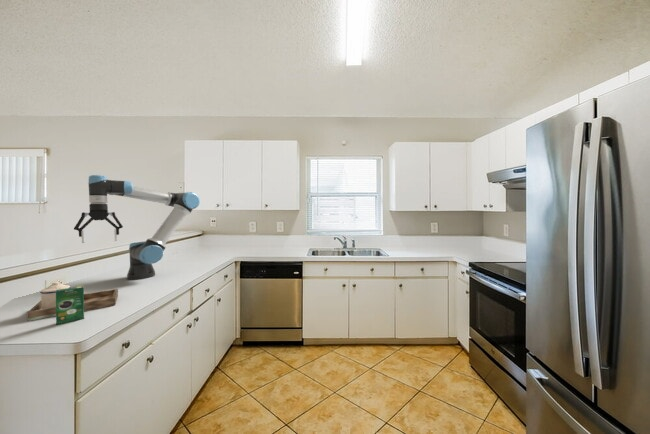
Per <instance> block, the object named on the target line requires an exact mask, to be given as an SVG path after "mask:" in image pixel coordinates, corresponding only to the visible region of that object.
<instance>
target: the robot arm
mask: <svg viewBox="0 0 650 434" xmlns="http://www.w3.org/2000/svg"><path fill="white" fill-rule="evenodd" d="M87 184H88V203H89V212H81V215H80V218H79V220H78V221H77V223H76V224H75V225H74V227H73V230H74V231H77V232H78V237H79V238H81V243H82V244H84V243H85V242H86V241H85V230H84V229H85V228H86V227H87V226H88V225H89V224H91V223H92V222H93V221H104V220H105V221H106V222H107V223H109V224H110V225H111V226H112V227H113V228H115V229H114V231H113V232H114V242H117V240H118V239H117V238H118V235H119V236H120V229H122V228H123V227H124V226H123V225H122V223H121V221H120V220H119V219H118V216H116V213H115V211H113V212H109V210H108V209H109V207H108V195H109V196H119V197H125V198H131V199H136V200H141V201H148V202H151V203H152V202H153V203H157V204H158V203H159V204H164V205H165V206H168V207H173V209H172V210H171V211H170V213H169V214H168V215H167V217H166V218H165V220H164V221H163V222H162V223H161V225H160V226H159V228H158V229H157V230H156V232H155V233H154V234H153V236H152V237H150V238H147V239H146V240H145V241H139V242H131V243H130V244H129V246H128V247H129V248H128V250H129V269H128V271H127V274H126V278H127V280H142V279H143V280H144V279H148V278H152V277H154V276H155V275H156V271H155V268H154V266H153V264H156V263H158V262H160V261H161V260H162V258H163V257H164V251H165V249H167V247H166V243H167V242H168V241H169V240H170V238H171V237H172V235H174V232H175V231H176V229H178V227H179V226H180V224H181V223H182V221H183V220H184V218H186V216H187V215H190V214H191V213H192V211H193V210H194V209H197V208H198V207H199V206H200V203H201V201H200V196H199V195H198V194H197V193H195V192H192V191H186V192H177V193H175V192H170V191H169V192H163V191H157V190H154V189H153V190H151V189H148V188H143V187H137V186H134V184H133V182H132V181H129V180H116V179H115V180H112V179H108V178H107V176H106V175H101V174H91V175H89V176H88V183H87ZM109 215H110V216H111V217H112V219H114V220H115V222H116V224H115V223H114V222H113V221H112V220H111V219H109V217H108V216H109ZM87 216H89V217H90V218H89V219H88V220H87V221H86V222H85V223H84V224H83V225H81V224H82V223H83V221H84V220H85V217H87ZM80 226H81V227H80Z"/></svg>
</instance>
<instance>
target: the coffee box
mask: <svg viewBox="0 0 650 434" xmlns="http://www.w3.org/2000/svg"><path fill="white" fill-rule="evenodd" d="M84 294H85V288H84V286H83V285H81V286H74V287H73V286H72V287H71V288H67V289H60V290H56V316H55V321H56V322H55V323H56V325H60V324H61V325H62V324H65V323H69V322H74V321H79V320H82V319H85V311H84Z"/></svg>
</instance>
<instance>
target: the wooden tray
mask: <svg viewBox="0 0 650 434" xmlns="http://www.w3.org/2000/svg"><path fill="white" fill-rule="evenodd" d="M118 290H119V289H118V288H115V289H108V290H101V291H94V292H89V293H84V312H85V311H92V310H97V309H102V308H103V309H104V308H108V307H113V306H116V303H117V301H118V296H119V292H118ZM26 315H27V321H28V322H29V321H35V320H41V319H47V318H52V317H56V307H53V308H47V309H42V301H41V300H40V301H38V302H37V303H36V304H34V306H33V307H32V308H30V309H29V310H28V311H27V314H26Z"/></svg>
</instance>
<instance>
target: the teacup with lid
mask: <svg viewBox="0 0 650 434" xmlns="http://www.w3.org/2000/svg"><path fill="white" fill-rule="evenodd" d="M67 288H72V287H71V286H70V285H68V284H62V283H60V282H59V281H54V282H52V285H48V286H46V287H45V288H43V289H41V290H40V296H41V299H40V301H42V309H47V308H53V307H56V290H60V289H67Z"/></svg>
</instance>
